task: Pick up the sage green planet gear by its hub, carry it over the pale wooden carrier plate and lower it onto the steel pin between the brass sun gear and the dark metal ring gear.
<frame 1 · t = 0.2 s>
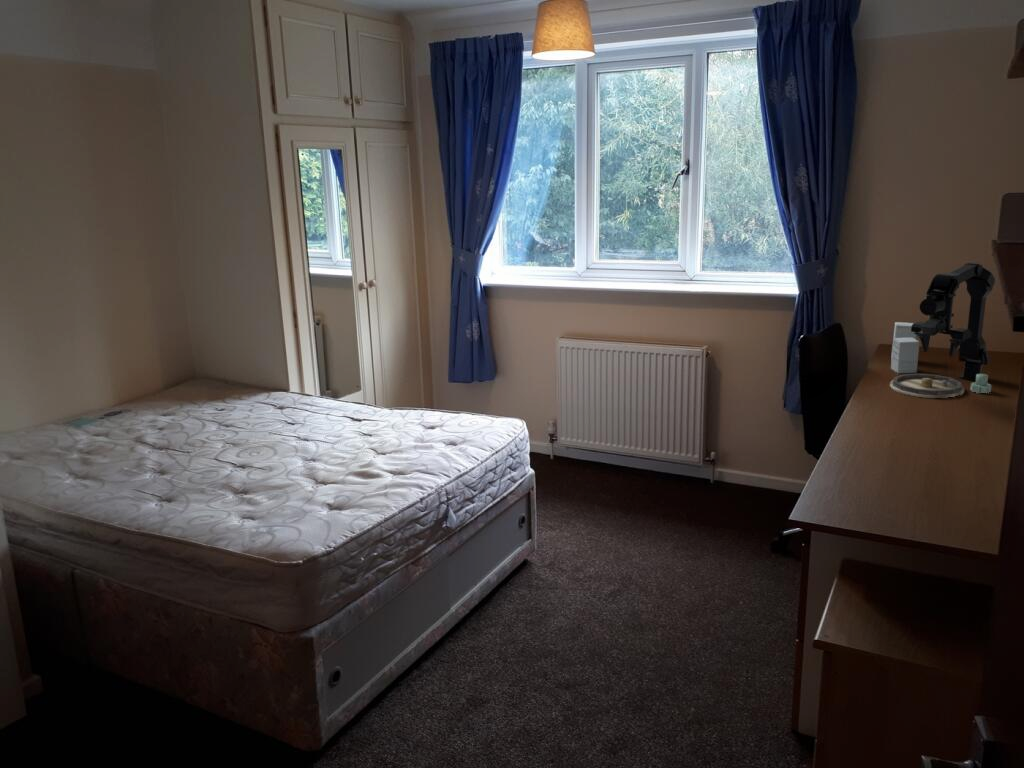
hand: (938, 354, 278), 14 cm above the table, tool pointing down, fingers open, 9 cm apart
supplement box: (903, 371, 310), on the table
skincare box: (902, 361, 324), on the table
carrier plate: (926, 388, 287), on the table
planet gear: (980, 391, 282), on the table
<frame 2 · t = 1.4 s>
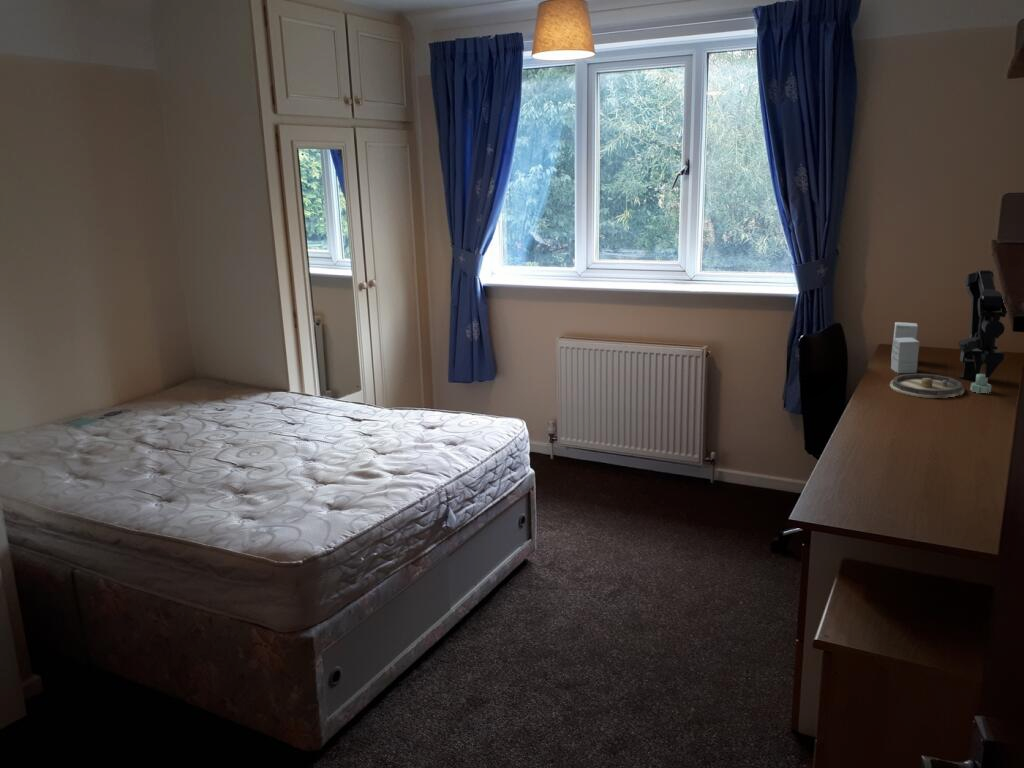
hand: (982, 373, 280), 6 cm above the table, tool pointing down, fingers open, 9 cm apart
nothing on the table moved.
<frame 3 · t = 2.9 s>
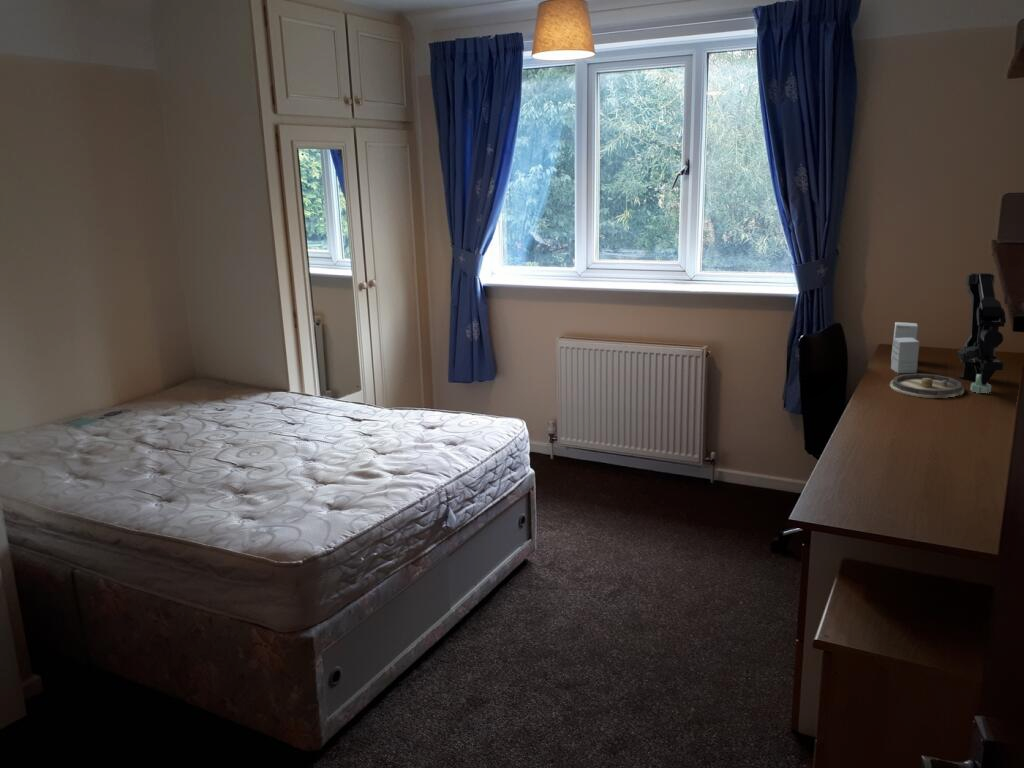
hand: (981, 383, 281), 3 cm above the table, tool pointing down, fingers closed on planet gear, 4 cm apart
planet gear: (980, 391, 282), on the table, touching gripper
everything else where it was.
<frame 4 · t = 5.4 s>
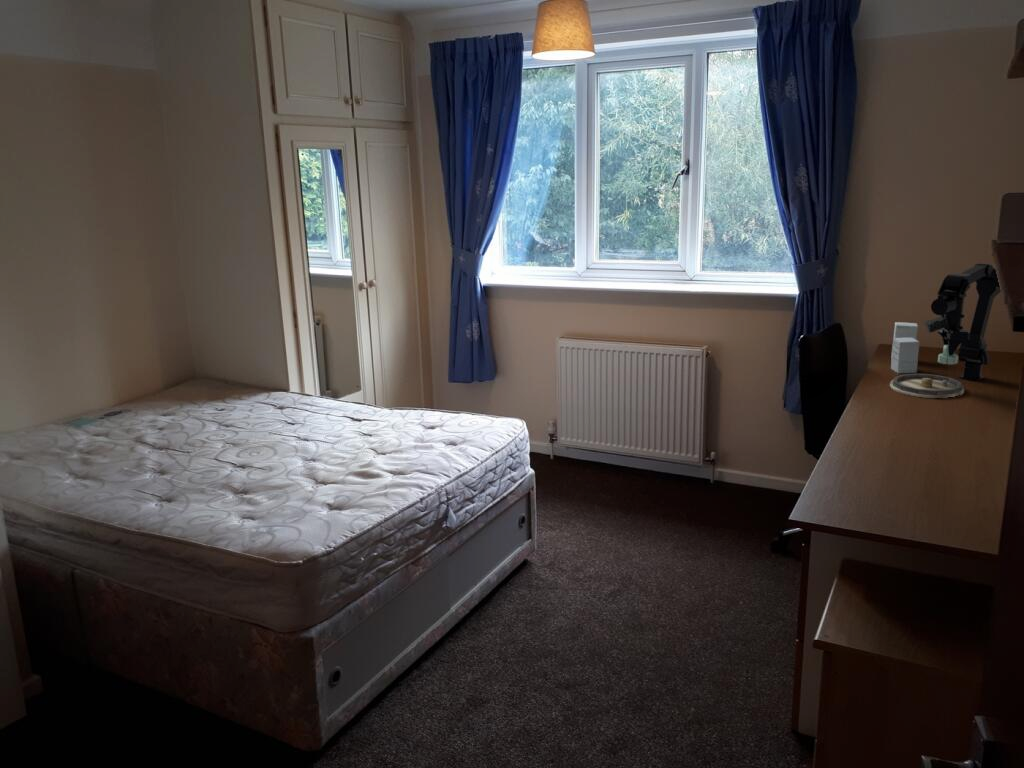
hand: (948, 353, 283), 13 cm above the table, tool pointing down, fingers closed on planet gear, 4 cm apart
planet gear: (947, 362, 283), point 10 cm above the table, touching gripper
everything else where it was.
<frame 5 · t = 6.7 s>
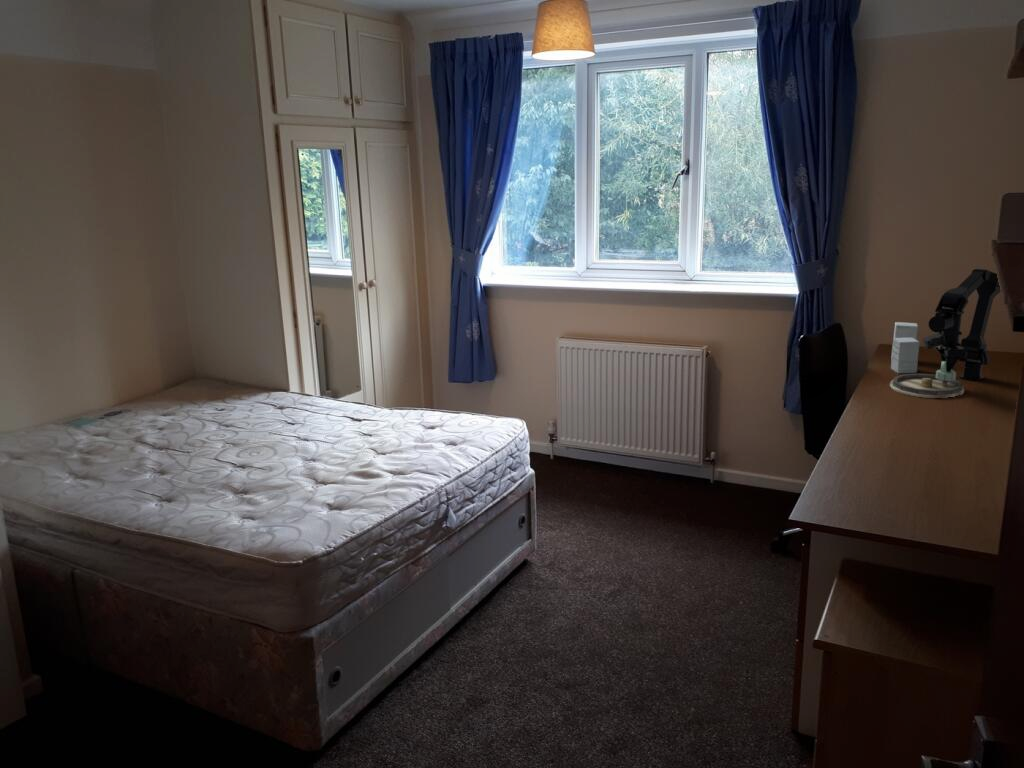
hand: (946, 370, 284), 7 cm above the table, tool pointing down, fingers closed on planet gear, 4 cm apart
planet gear: (945, 378, 285), point 4 cm above the table, touching gripper
everything else where it was.
when the fingers open (5 cm above the table, at t = 7.8 s): planet gear drops 1 cm, resting on carrier plate.
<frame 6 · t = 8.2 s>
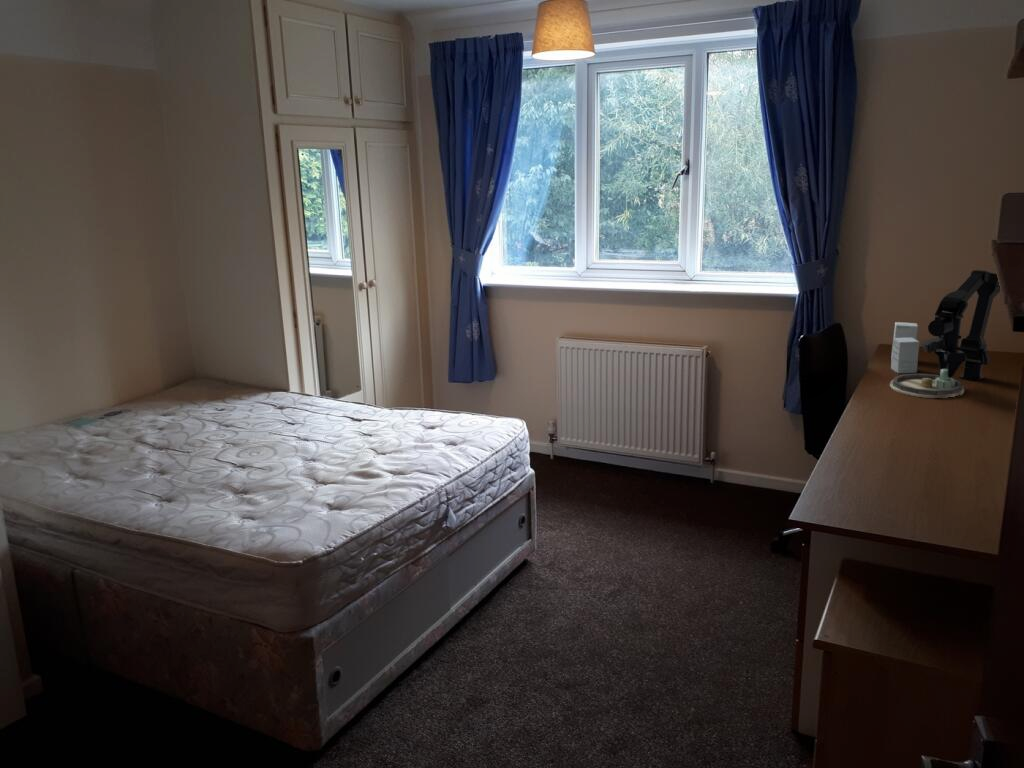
hand: (945, 374, 285), 5 cm above the table, tool pointing down, fingers open, 8 cm apart
planet gear: (944, 386, 286), point 1 cm above the table, touching carrier plate
everything else where it was.
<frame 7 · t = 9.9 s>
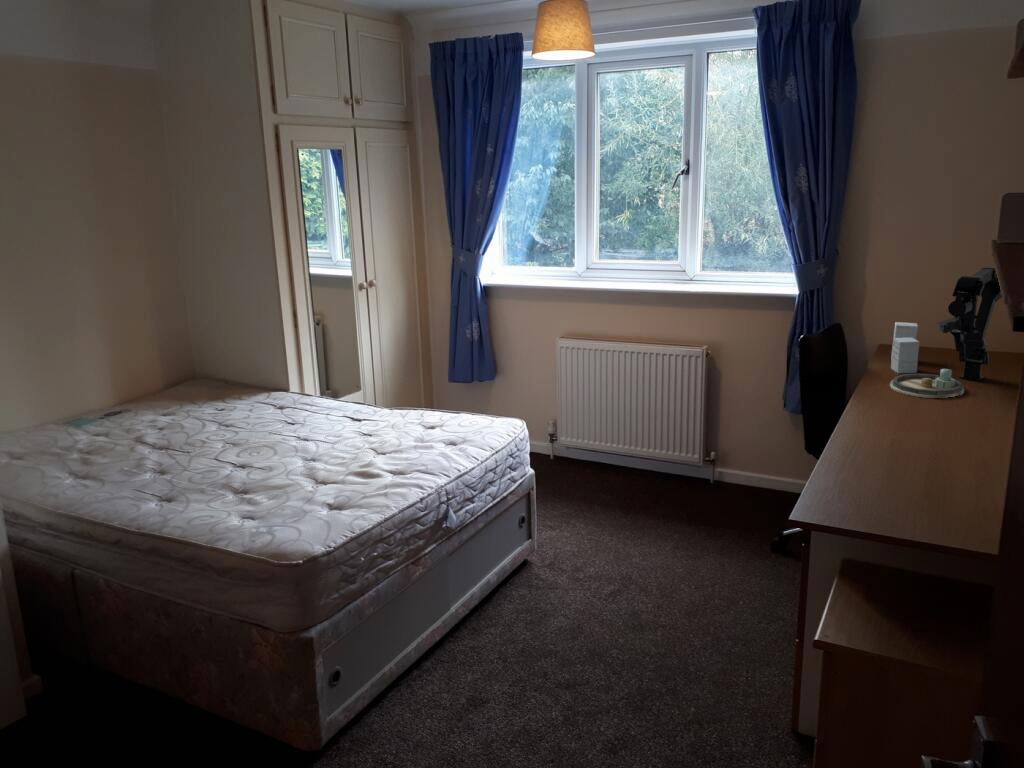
hand: (962, 354, 285), 12 cm above the table, tool pointing down, fingers open, 9 cm apart
nothing on the table moved.
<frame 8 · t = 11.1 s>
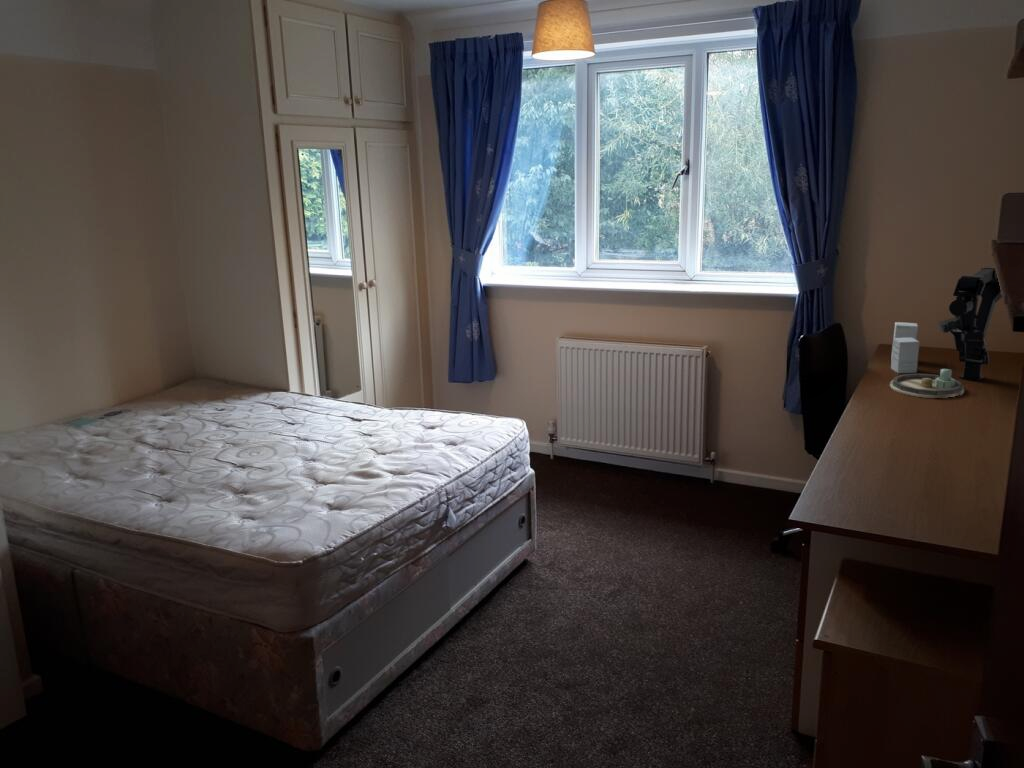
hand: (962, 354, 285), 12 cm above the table, tool pointing down, fingers open, 9 cm apart
nothing on the table moved.
at the end: planet gear 0.1 cm from the target spot on the carrier plate, point 1.0 cm above the carrier plate's base; planet gear tilted 0°; the gripper is holding nothing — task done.
